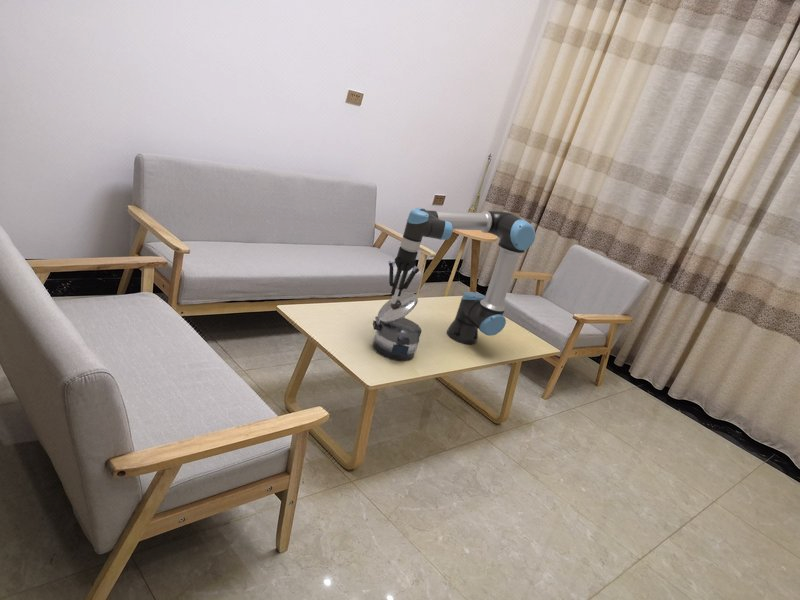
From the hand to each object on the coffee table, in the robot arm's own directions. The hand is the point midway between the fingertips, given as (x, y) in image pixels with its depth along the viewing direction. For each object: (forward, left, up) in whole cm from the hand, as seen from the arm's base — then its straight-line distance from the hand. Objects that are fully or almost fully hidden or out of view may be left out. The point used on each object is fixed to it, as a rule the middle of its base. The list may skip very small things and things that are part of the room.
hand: (393, 302), depth 222 cm
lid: (-3, 0, -3) cm, 4 cm away
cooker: (-6, 0, -21) cm, 22 cm away
